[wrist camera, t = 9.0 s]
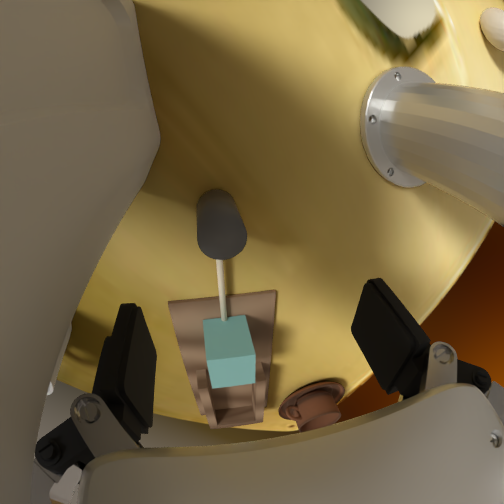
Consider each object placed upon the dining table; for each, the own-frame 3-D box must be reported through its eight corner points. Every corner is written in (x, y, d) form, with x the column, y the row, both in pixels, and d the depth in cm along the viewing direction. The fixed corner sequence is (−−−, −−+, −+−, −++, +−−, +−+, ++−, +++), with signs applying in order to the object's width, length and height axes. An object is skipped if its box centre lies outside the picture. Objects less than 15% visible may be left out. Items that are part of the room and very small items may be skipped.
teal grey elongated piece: (186, 191, 21) (184, 218, 16) (243, 187, 22) (257, 212, 17) (207, 349, 30) (212, 388, 26) (245, 345, 31) (255, 383, 26)
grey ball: (497, 60, 18) (532, 65, 12) (473, 35, 16) (511, 38, 10) (495, 26, 14) (527, 28, 9) (469, 0, 13) (505, -1, 7)
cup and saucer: (270, 415, 44) (278, 443, 39) (284, 381, 38) (296, 414, 33) (327, 405, 47) (338, 429, 41) (350, 370, 41) (365, 397, 36)
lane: (168, 301, 27) (166, 324, 24) (274, 289, 28) (283, 311, 25) (200, 413, 39) (202, 430, 36) (266, 404, 41) (270, 421, 38)
